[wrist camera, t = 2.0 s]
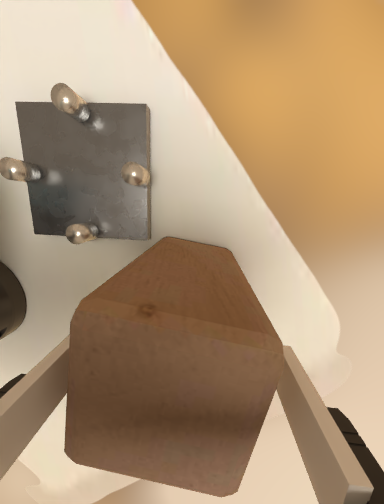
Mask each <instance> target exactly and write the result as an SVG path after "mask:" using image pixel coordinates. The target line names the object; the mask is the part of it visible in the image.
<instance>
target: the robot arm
mask: <svg viewBox="0 0 384 504" xmlns="http://www.w3.org/2000/svg"><path fill="white" fill-rule="evenodd" d="M25 311H26V302H25V296H24V293H23V290H22V288H21V286H20V284H19V282H18V280H17V279H16V277H15V276H14V275H13V273H12V272H11V271H10V270H9V269H8V268H7V267H6V266H5V265H3V264H2V263H1V262H0V339H2V338H4V337H5V336H7V335H8V334H10V333H11V332H13V331H14V330H16V329H17V328H18V327H19V326H20V324H21V323H22V321H23V319H24V316H25ZM69 343H70V335H69V336H68V337H67V338H65V339H64V340H63V341H62V342H61V343H60V344H59V345H58V346H57V347H56V348H55V349H54V350H52V351H51V352H50V353H49V354H48V355H47V356H46V357H45V358H44V359H43V360H42V361H41V362H39V363H38V364H37V365H36V366H35V367H34V368H33V369H32V370H31V371H30V372H29V373H28V374H20V375H19V376H17V377H15V378H14V379H12V380H11V381H9V382H8V383H7V384H5V385H4V386H3V387H2V388H1V389H0V480H1V479H2V478H3V476H4V475H5V474H6V472H7V471H8V470H9V468H10V467H11V466H12V464H13V463H14V462H15V460H16V459H17V458H18V457H19V455H20V454H21V453H22V451H23V450H24V449H25V447H26V446H27V445H28V443H29V442H30V441H31V439H32V438H33V437H34V435H35V434H36V433H37V432H38V430H39V429H40V428H41V426H42V425H43V424H44V422H45V421H46V420H47V418H48V417H49V416H50V414H51V413H52V412H53V410H54V409H55V408H56V406H57V405H58V404H59V403H60V401H61V400H62V399H63V397H64V396H65V395H66V393H67V385H68V364H69ZM283 353H284V369H283V372H282V375H281V377H280V380H279V383H278V385H277V388H276V390H277V392H278V395H279V398H280V400H281V403H282V406H283V408H284V411H285V414H286V416H287V419H288V421H289V424H290V427H291V430H292V432H293V435H294V437H295V440H296V443H297V446H298V448H299V451H300V454H301V456H302V459H303V462H304V465H305V467H306V470H307V473H308V475H309V478H310V481H311V483H312V486H313V489H314V491H315V494H316V497H317V499H318V502H319V504H384V472H383V470H382V469H381V467H380V466H379V464H378V463H377V461H376V459H375V458H374V457H373V455H372V453H371V452H370V450H369V449H368V448H367V447H366V445H365V443H364V441H363V440H362V438H361V437H360V436H359V435H358V432H357V431H356V429H355V428H354V426H353V425H352V423H351V422H350V420H349V419H348V418H347V417H346V416H345V415H344V414H343V413H342V412H341V411H340V410H339V409H338V408H329V407H326V406H325V404H324V403H323V401H322V399H321V397H320V396H319V394H318V392H317V391H316V389H315V387H314V385H313V384H312V382H311V380H310V379H309V377H308V375H307V374H306V372H305V370H304V369H303V367H302V365H301V363H300V362H299V360H298V358H297V357H296V355H295V353H294V352H293V350H292V348H291V346H283Z"/></svg>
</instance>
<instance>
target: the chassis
mask: <svg viewBox="0 0 384 504" xmlns="http://www.w3.org/2000/svg"><path fill="white" fill-rule="evenodd" d="M51 100H52V102H15V103H16V110H17V117H18V124H19V131H20V137H21V144H22V151H23V158H24V161H21V160H16V159H12V158H8V157H5V158H2V159H1V160H0V173H1V174H2V176H3V177H5V178H6V179H9V180H16V181H23V182H27V185H28V192H29V199H30V206H31V212H32V219H33V226H34V233H35V234H43V235H61V236H66V237H67V239H68V240H69V241H70V242H71V243H73V244H80V243H84V242H87V241H90V240H94V239H95V238H96V237H97V238H115V239H133V240H149V239H151V211H150V109H149V108H148V106H147V104H124V103H86V102H85V101H84V100H83V99H82V98H81V97H80V96H79V95H77V94H76V93H75V92H74V91H73V90H72V89H71V88H69V87H68V86H67V85H66V84H63V83H58V84H56V85H55V86H54V87H53V88H52V90H51Z"/></svg>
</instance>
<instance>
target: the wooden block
mask: <svg viewBox="0 0 384 504" xmlns="http://www.w3.org/2000/svg"><path fill="white" fill-rule="evenodd" d="M283 369H284V353H283V344H282V342H281V340H280V338H279V336H278V334H277V333H276V331H275V329H274V327H273V326H272V324H271V322H270V320H269V318H268V317H267V315H266V313H265V311H264V309H263V308H262V306H261V304H260V302H259V301H258V299H257V297H256V295H255V293H254V292H253V290H252V288H251V286H250V284H249V283H248V281H247V279H246V277H245V276H244V274H243V272H242V270H241V268H240V267H239V265H238V263H237V261H236V259H235V258H234V256H233V254H232V252H231V251H229V250H228V249H225V248H221V247H216V246H211V245H206V244H201V243H196V242H191V241H186V240H182V239H177V238H172V237H166V238H163V239H161V240H160V241H159V242H157V243H156V244H155V245H154V246H152V247H151V248H150V249H148V250H147V251H146V252H144V253H143V254H142V255H140V256H139V257H138V258H136V259H135V260H134V261H132V262H131V263H130V264H128V265H127V266H126V267H125V268H123V269H122V270H121V271H119V272H118V273H117V274H115V275H114V276H113V277H111V278H110V279H109V280H107V281H106V282H105V283H103V284H102V285H101V286H100V287H98V288H97V289H96V290H94V291H93V292H92V293H90V294H89V295H88V296H86V297H85V298H84V299H82V300H81V302H80V304H79V305H78V307H77V309H76V311H75V313H74V315H73V317H72V320H71V322H70V343H69V364H68V385H67V406H66V427H65V448H64V452H65V453H66V455H67V456H68V457H69V458H70V459H71V460H72V461H73V462H75V463H76V464H80V465H84V466H89V467H93V468H97V469H102V470H106V471H110V472H114V473H119V474H123V475H127V476H132V477H136V478H140V479H145V480H149V481H153V482H158V483H162V484H166V485H170V486H175V487H179V488H183V489H188V490H192V491H196V492H201V493H205V494H209V495H214V496H218V497H225V496H228V495H232V494H234V493H236V492H237V491H238V488H239V486H240V483H241V480H242V478H243V475H244V473H245V470H246V467H247V465H248V462H249V459H250V457H251V454H252V452H253V449H254V446H255V444H256V441H257V438H258V436H259V433H260V430H261V427H262V425H263V422H264V420H265V417H266V414H267V412H268V409H269V406H270V404H271V401H272V399H273V396H274V393H275V391H276V388H277V385H278V383H279V380H280V377H281V375H282V372H283Z"/></svg>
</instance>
